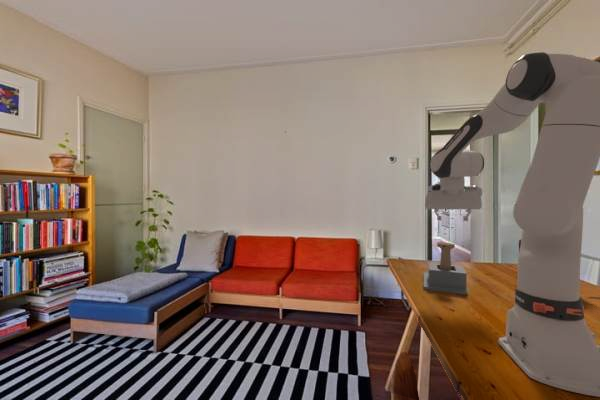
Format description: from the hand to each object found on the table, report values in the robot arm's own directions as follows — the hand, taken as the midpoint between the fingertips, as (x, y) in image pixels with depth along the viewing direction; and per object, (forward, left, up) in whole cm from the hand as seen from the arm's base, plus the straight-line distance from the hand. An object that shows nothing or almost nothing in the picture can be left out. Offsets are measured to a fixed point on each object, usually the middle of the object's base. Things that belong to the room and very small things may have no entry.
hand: (452, 220), depth 114 cm
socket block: (+2, +3, -27) cm, 27 cm away
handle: (+1, +2, -25) cm, 25 cm away
